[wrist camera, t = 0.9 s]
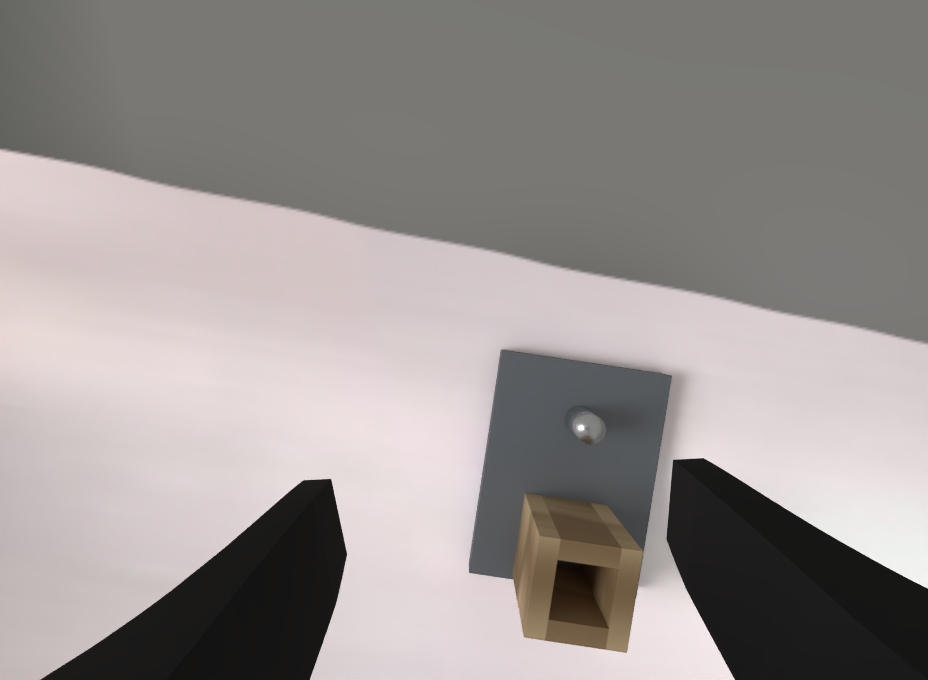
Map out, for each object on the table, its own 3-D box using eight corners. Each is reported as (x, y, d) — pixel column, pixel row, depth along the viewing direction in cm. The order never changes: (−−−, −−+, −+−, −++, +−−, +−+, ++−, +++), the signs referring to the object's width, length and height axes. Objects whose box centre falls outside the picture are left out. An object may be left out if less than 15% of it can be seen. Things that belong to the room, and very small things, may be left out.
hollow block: (594, 585, 24) (626, 652, 19) (512, 573, 24) (523, 637, 19) (606, 505, 24) (643, 551, 19) (524, 493, 24) (539, 535, 19)
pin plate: (629, 587, 25) (636, 597, 24) (468, 563, 25) (469, 572, 24) (663, 373, 25) (671, 375, 24) (501, 349, 25) (502, 350, 24)
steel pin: (596, 425, 24) (610, 436, 22) (572, 436, 24) (584, 449, 22) (584, 401, 24) (598, 410, 22) (560, 412, 24) (571, 422, 22)
